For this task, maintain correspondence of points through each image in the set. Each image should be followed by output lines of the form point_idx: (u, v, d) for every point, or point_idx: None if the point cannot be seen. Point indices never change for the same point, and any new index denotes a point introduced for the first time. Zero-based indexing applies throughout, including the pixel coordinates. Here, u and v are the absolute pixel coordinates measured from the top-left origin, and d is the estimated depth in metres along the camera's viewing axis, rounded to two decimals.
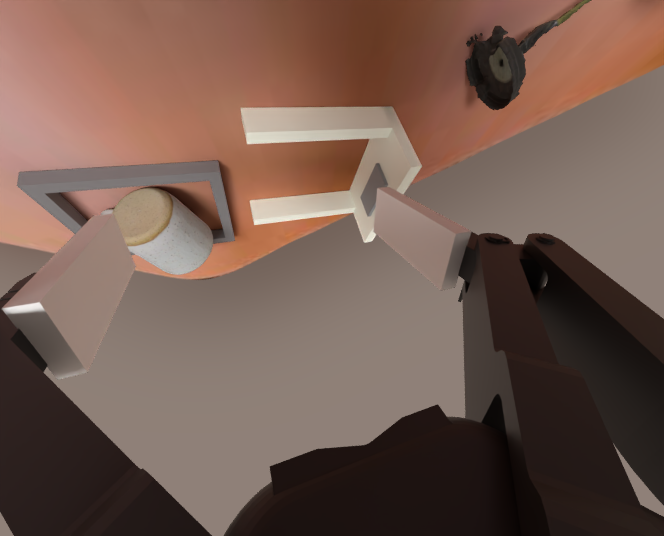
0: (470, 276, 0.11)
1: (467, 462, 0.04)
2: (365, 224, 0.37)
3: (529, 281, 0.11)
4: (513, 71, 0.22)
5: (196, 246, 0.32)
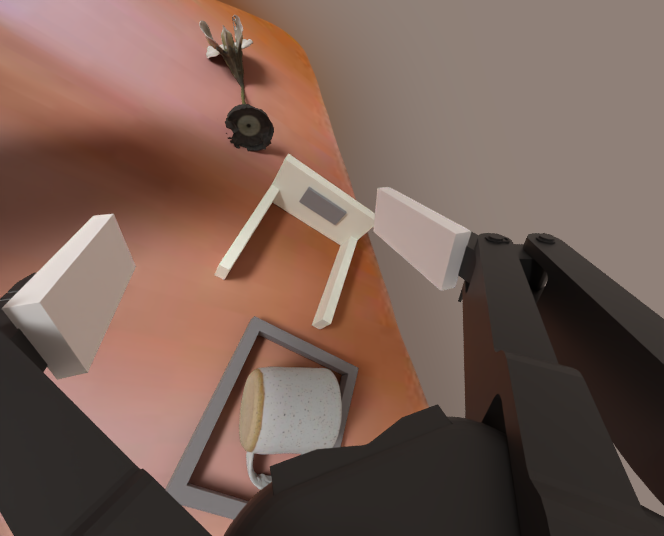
0: (470, 276, 0.11)
1: (467, 462, 0.04)
2: (358, 219, 0.39)
3: (529, 281, 0.11)
4: (240, 108, 0.37)
5: (310, 373, 0.27)
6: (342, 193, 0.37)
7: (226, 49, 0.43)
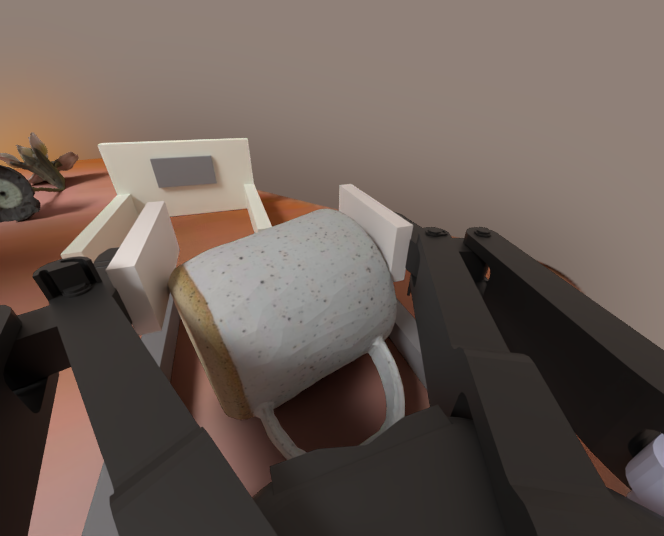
0: (416, 270, 0.12)
1: (466, 462, 0.04)
2: (229, 155, 0.32)
3: (468, 273, 0.11)
4: None
5: None
6: (189, 140, 0.31)
7: None
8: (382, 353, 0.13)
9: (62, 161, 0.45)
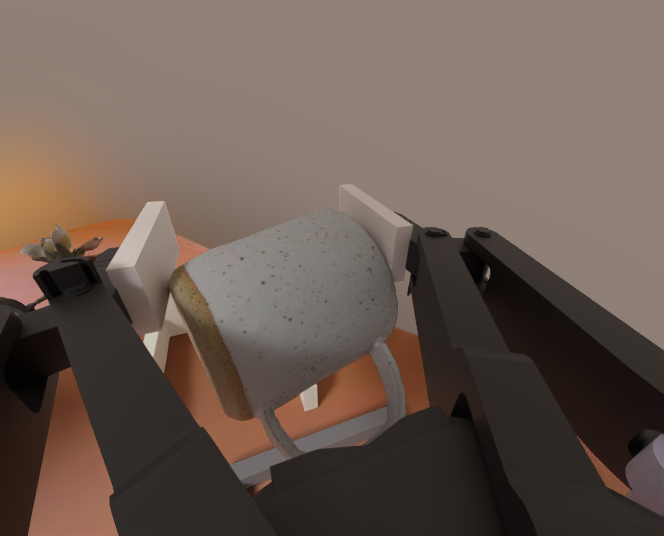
0: (415, 270, 0.12)
1: (467, 462, 0.04)
2: None
3: (468, 273, 0.11)
4: None
5: None
6: None
7: None
8: (383, 354, 0.13)
9: (85, 247, 0.44)
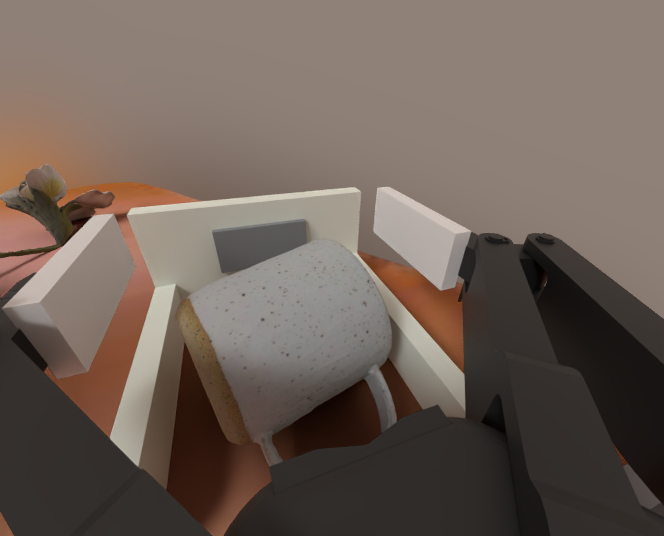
0: (470, 276, 0.11)
1: (466, 462, 0.04)
2: (330, 216, 0.20)
3: (529, 281, 0.11)
4: None
5: None
6: (271, 196, 0.19)
7: None
8: (377, 381, 0.13)
9: (83, 201, 0.32)
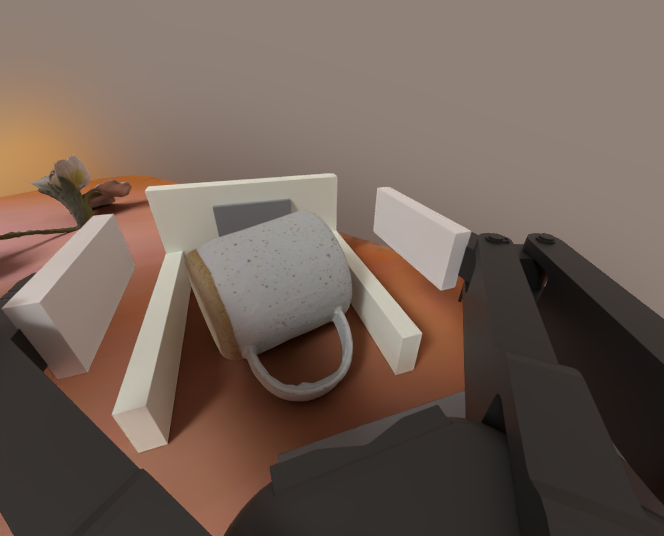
0: (470, 276, 0.11)
1: (467, 462, 0.04)
2: (312, 197, 0.24)
3: (529, 281, 0.11)
4: None
5: None
6: (262, 179, 0.23)
7: None
8: (340, 319, 0.17)
9: (103, 190, 0.36)
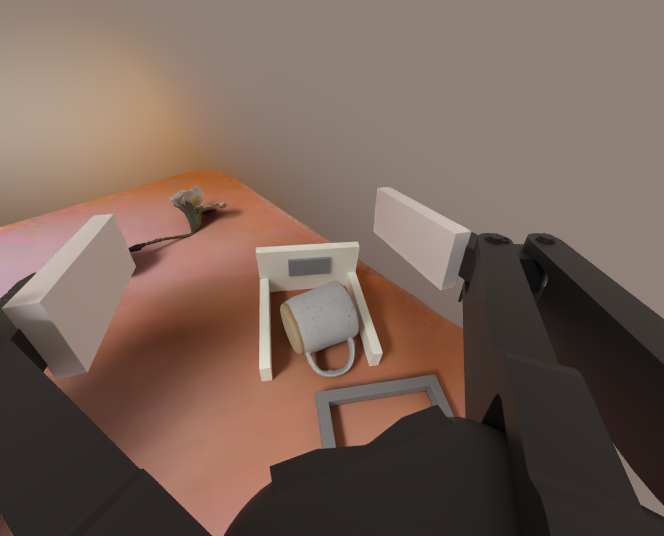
0: (470, 276, 0.11)
1: (467, 462, 0.04)
2: (343, 256, 0.41)
3: (529, 281, 0.11)
4: None
5: None
6: (316, 245, 0.40)
7: None
8: (350, 342, 0.35)
9: (209, 208, 0.53)
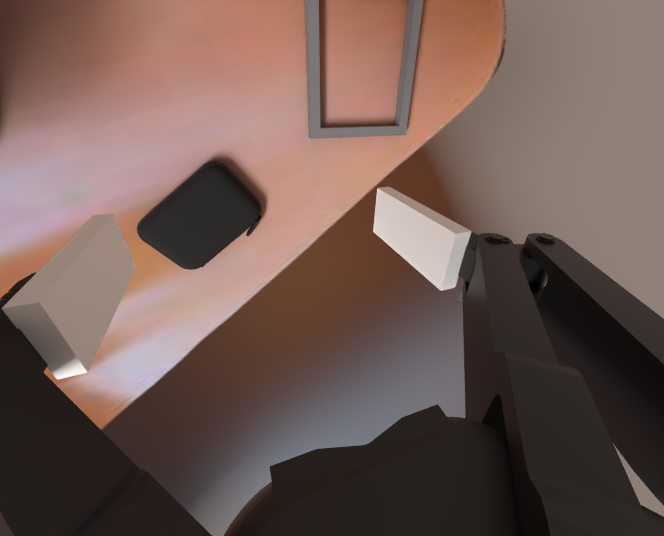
0: (470, 276, 0.11)
1: (467, 462, 0.04)
2: None
3: (529, 281, 0.11)
4: None
5: None
6: None
7: None
8: None
9: None
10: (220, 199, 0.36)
